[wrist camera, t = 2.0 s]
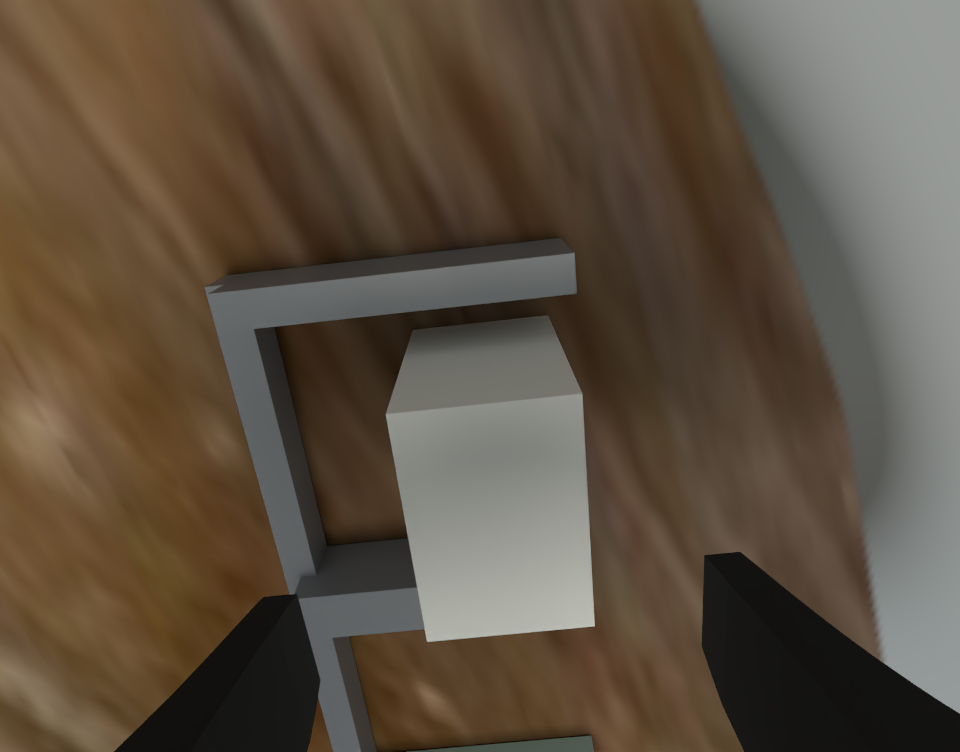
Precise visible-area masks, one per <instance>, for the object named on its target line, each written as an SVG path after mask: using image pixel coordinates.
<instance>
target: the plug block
mask: <svg viewBox="0 0 960 752" xmlns="http://www.w3.org/2000/svg"><path fill="white" fill-rule="evenodd" d="M386 419H387V425H388V430H389V436H390V441H391V447H392V452H393V458H394V463H395V469H396V474H397V480H398V485H399V491H400V496H401V502H402V507H403V513H404V518H405V524H406V529H407V535H408V540H409V545H410V551H411V556H412V562H413V567H414V573H415V578H416V584H417V589H418V595H419V600H420V606H421V611H422V617H423V622H424V628H425V633H426V639H427V642H432V641H443V640H453V639H464V638H475V637H485V636H496V635H507V634H517V633H528V632H539V631H549V630H560V629H571V628H581V627H592V626H595V622H594V604H593V585H592V566H591V547H590V528H589V510H588V491H587V472H586V453H585V435H584V416H583V397H582V392H581V389H580V387H579V385H578V383H577V380H576V378H575V376H574V373H573V371H572V369H571V367H570V364H569V362H568V360H567V357H566V355H565V353H564V351H563V348H562V346H561V344H560V341H559V339H558V337H557V335H556V332H555V330H554V328H553V325H552V323H551V321H550V319H549V316H548V315H546V316H537V317H528V318H518V319H509V320H500V321H491V322H482V323H472V324H463V325H454V326H445V327H435V328H426V329H417V330H413V331H412V334H411V337H410V340H409V343H408V346H407V349H406V352H405V356H404V359H403V362H402V365H401V368H400V371H399V374H398V377H397V380H396V384H395V387H394V390H393V393H392V396H391V399H390V402H389V405H388V408H387V412H386Z"/></svg>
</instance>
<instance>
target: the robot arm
mask: <svg viewBox="0 0 960 752" xmlns="http://www.w3.org/2000/svg"><path fill="white" fill-rule="evenodd" d="M702 648H703V651H704V654H705V657H706V660H707V663H708V666H709V669H710V671H711V674H712V677H713V680H714V683H715V686H716V688H717V691H718V694H719V697H720V700H721V702H722V705H723V707H724V709H725V712H726V714H727V716H728V718H729V720H730V722H731V724H732V726H733V729H734V731H735V733H736V735H737V737H738V739H739V741H740V743H741V745H742V747H743V750H744V752H960V714H959V713H958V712H956V711H954V710H953V709H951V708H950V707H948V706H946V705H945V704H943V703H942V702H940V701H938V700H937V699H935V698H934V697H932V696H931V695H929V694H928V693H926V692H925V691H923V690H922V689H920V688H919V687H917V686H916V685H914V684H913V683H911V682H910V681H908V680H907V679H906V678H904V677H903V676H901V675H900V674H898V673H897V672H895V671H894V670H892V669H891V668H890V667H888V666H887V665H885V664H884V663H882V662H881V661H880V660H878V659H877V658H875V657H874V656H872V655H871V654H870V653H868V652H867V651H866V650H864V649H863V648H861V647H860V646H859V645H857V644H856V643H855V642H853V641H852V640H850V639H849V638H848V637H846V636H845V635H844V634H842V633H841V632H840V631H839V630H837V629H836V628H835V627H833V626H832V625H831V624H829V623H828V622H827V621H825V620H824V619H823V618H822V617H820V616H819V615H818V614H816V613H815V612H814V611H813V610H811V609H810V608H809V607H808V606H806V605H805V604H804V603H802V602H801V601H800V600H799V599H797V598H796V597H795V596H794V595H792V594H791V593H790V592H789V591H788V590H786V589H785V588H784V587H783V586H781V585H780V584H779V583H778V582H776V581H775V580H774V579H773V578H772V577H770V576H769V575H768V574H767V573H765V572H764V571H763V570H762V569H761V568H759V567H758V566H757V565H756V564H754V563H753V562H752V561H751V560H749V559H748V558H747V557H746V556H744V555H743V554H742V553H741V552H734V553H723V554H713V555H704V589H703V624H702ZM320 681H321V680H320V676H319V673H318V669H317V665H316V662H315V658H314V654H313V651H312V647H311V643H310V640H309V636H308V632H307V629H306V625H305V621H304V618H303V614H302V610H301V607H300V603H299V599H298V596H297V594H291V595H281V596H270V597H263V598H262V599H261V600H260V601H259V602H258V603H257V604H256V605H255V606H254V607H253V609H252V610H251V611H250V612H249V613H248V614H247V615H246V616H245V617H244V618H243V619H242V620H241V621H240V623H239V624H238V625H237V626H236V627H235V628H234V629H233V630H232V631H231V632H230V633H229V635H228V636H227V637H226V638H225V639H224V640H223V641H222V642H221V643H220V644H219V645H218V647H217V648H216V649H215V650H214V651H213V652H212V653H211V654H210V655H209V656H208V657H207V658H206V659H205V660H204V662H203V663H202V664H201V665H200V666H199V667H198V668H197V669H196V670H195V671H194V672H193V673H192V674H191V675H190V676H189V677H188V678H187V680H186V681H185V682H184V683H183V684H182V685H181V686H180V687H179V688H178V689H177V690H176V691H175V692H174V693H173V694H172V695H171V696H170V697H169V698H168V699H167V700H166V701H165V702H164V703H163V704H162V705H161V706H160V707H159V708H158V709H157V710H156V711H155V712H154V713H153V714H152V715H151V716H150V717H149V718H148V719H147V720H146V721H145V722H144V723H143V724H142V725H141V726H140V727H139V728H138V729H137V730H136V731H135V732H134V733H133V734H132V735H131V736H130V737H129V738H128V739H127V740H125V741H124V742H123V743H122V744H121V745H120V746H119V747H118V748H117V749H116V750H115V751H114V752H307V750H308V746H309V742H310V738H311V733H312V727H313V722H314V717H315V711H316V705H317V699H318V693H319V687H320Z"/></svg>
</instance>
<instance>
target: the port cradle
mask: <svg viewBox="0 0 960 752" xmlns="http://www.w3.org/2000/svg"><path fill="white" fill-rule="evenodd" d="M205 291H206V295H207V298H208V302H209V305H210V309H211V313H212V316H213V320H214V323H215V327H216V331H217V334H218V338H219V342H220V345H221V349H222V352H223V356H224V360H225V363H226V367H227V370H228V374H229V378H230V381H231V385H232V388H233V392H234V396H235V399H236V403H237V406H238V410H239V414H240V417H241V421H242V424H243V428H244V432H245V435H246V439H247V442H248V446H249V450H250V453H251V457H252V460H253V464H254V468H255V471H256V475H257V478H258V482H259V486H260V489H261V493H262V497H263V500H264V504H265V507H266V511H267V515H268V518H269V522H270V525H271V529H272V533H273V536H274V540H275V543H276V547H277V551H278V554H279V558H280V561H281V565H282V569H283V572H284V576H285V579H286V583H287V587H288V590H289V594H290V595H291V594H297V596H298V599H299V603H300V607H301V610H302V614H303V618H304V621H305V625H306V629H307V632H308V636H309V640H310V643H311V647H312V651H313V654H314V658H315V662H316V665H317V669H318V673H319V676H320V680H321V681H320V687H319V693H318V698H319V702H320V706H321V709H322V713H323V716H324V720H325V724H326V727H327V731H328V734H329V738H330V742H331V745H332V749H333V752H377V750H376V746H375V742H374V738H373V734H372V730H371V726H370V721H369V717H368V713H367V709H366V705H365V701H364V697H363V692H362V688H361V684H360V680H359V676H358V672H357V668H356V663H355V659H354V655H353V651H352V647H351V643H350V638H349V636H357V635H368V634H379V633H389V632H400V631H411V630H421V629H425V628H424V622H423V617H422V611H421V606H420V600H419V595H418V589H417V584H416V578H415V573H414V567H413V562H412V556H411V551H410V545H409V540H408V538H405V539H395V540H385V541H374V542H364V543H354V544H344V545H334V546H327V543H326V539H325V535H324V531H323V526H322V522H321V518H320V514H319V510H318V506H317V502H316V497H315V493H314V489H313V485H312V481H311V477H310V473H309V468H308V464H307V460H306V456H305V452H304V448H303V444H302V439H301V435H300V431H299V427H298V423H297V419H296V414H295V410H294V406H293V402H292V398H291V394H290V390H289V385H288V381H287V377H286V373H285V369H284V365H283V361H282V356H281V352H280V348H279V344H278V340H277V336H276V332H275V327H277V326H286V325H295V324H304V323H313V322H322V321H331V320H341V319H350V318H359V317H368V316H377V315H386V314H395V313H404V312H414V311H423V310H432V309H441V308H450V307H459V306H468V305H478V304H487V303H496V302H505V301H514V300H523V299H532V298H541V297H551V296H560V295H569V294H577V288H576V270H575V253H574V252H573V251H572V250H571V249H570V247H569V246H568V245H567V244H566V243H565V242H564V241H563V240H562V239H561V238H554V239H546V240H537V241H528V242H519V243H510V244H501V245H492V246H483V247H474V248H466V249H457V250H448V251H439V252H430V253H421V254H412V255H403V256H394V257H385V258H377V259H368V260H359V261H350V262H341V263H332V264H323V265H314V266H305V267H297V268H288V269H279V270H270V271H261V272H252V273H243V274H234V275H226V276H224V277H222V278H221V279H219V280H217V281H215V282H213V283H211V284H209V285H207V286H206V287H205ZM408 752H594V748H593V743H592V738H591V736H580V737H569V738H557V739H546V740H534V741H523V742H511V743H500V744H488V745H477V746H465V747H454V748H442V749H431V750H419V751H408Z"/></svg>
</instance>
